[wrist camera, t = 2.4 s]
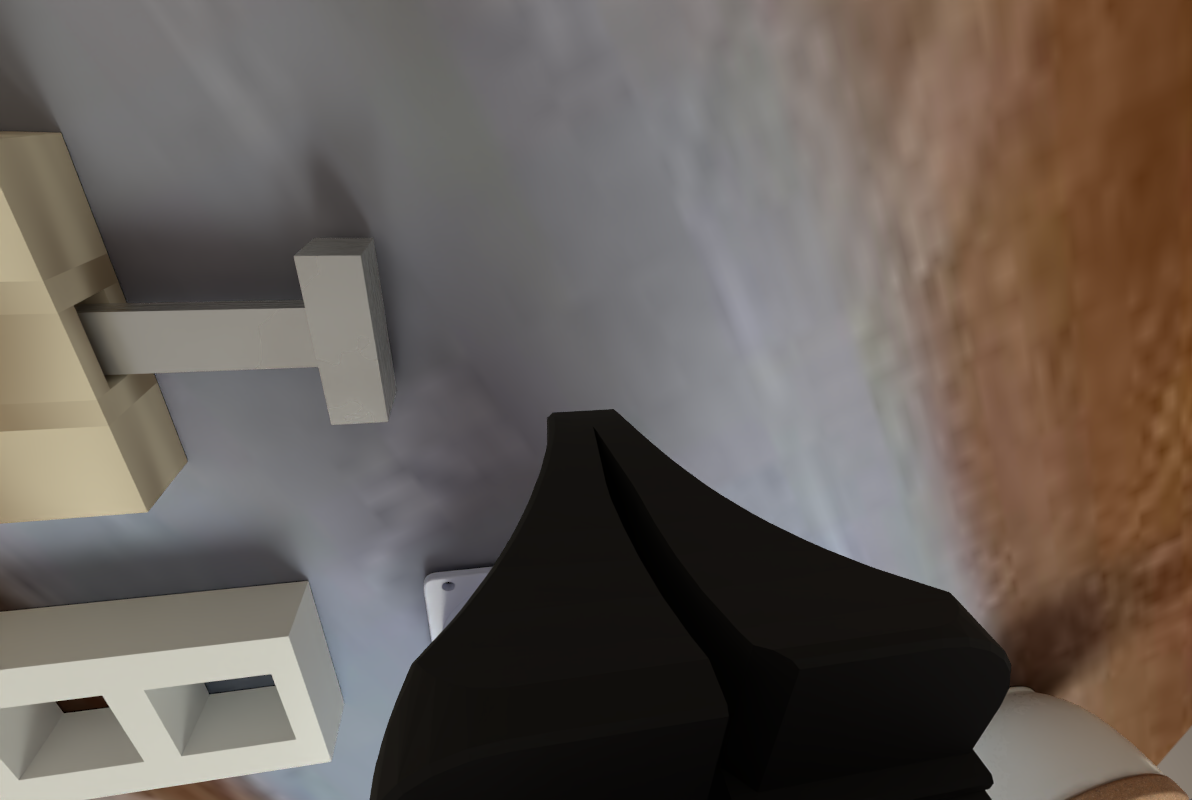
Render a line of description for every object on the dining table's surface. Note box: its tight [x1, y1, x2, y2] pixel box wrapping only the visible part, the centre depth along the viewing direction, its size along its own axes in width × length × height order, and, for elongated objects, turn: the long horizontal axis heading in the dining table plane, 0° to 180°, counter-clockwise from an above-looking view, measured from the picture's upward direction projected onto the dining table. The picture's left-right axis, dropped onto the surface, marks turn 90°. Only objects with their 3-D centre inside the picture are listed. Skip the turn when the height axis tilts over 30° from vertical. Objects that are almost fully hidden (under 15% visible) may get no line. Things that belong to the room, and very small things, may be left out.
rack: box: [0, 581, 344, 800], centre depth 21 cm, size 17×8×3 cm, turn 87°
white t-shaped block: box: [74, 238, 397, 425], centre depth 16 cm, size 8×5×2 cm, turn 87°
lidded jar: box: [973, 686, 1189, 800], centre depth 34 cm, size 11×11×9 cm
